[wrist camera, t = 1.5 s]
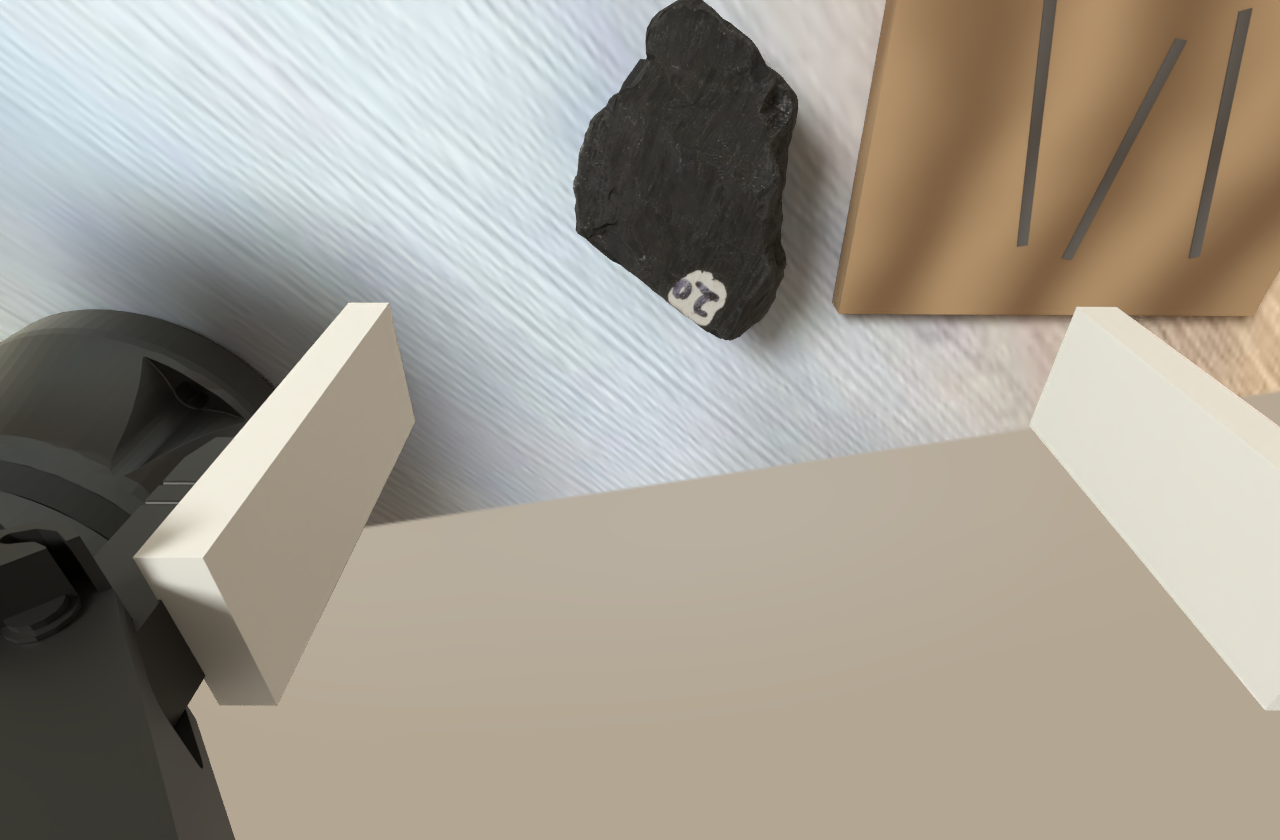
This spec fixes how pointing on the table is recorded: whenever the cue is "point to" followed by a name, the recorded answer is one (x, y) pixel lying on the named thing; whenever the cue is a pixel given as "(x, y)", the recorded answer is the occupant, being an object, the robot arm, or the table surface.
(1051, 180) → the board
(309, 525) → the robot arm
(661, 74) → the rock
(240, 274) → the table surface
